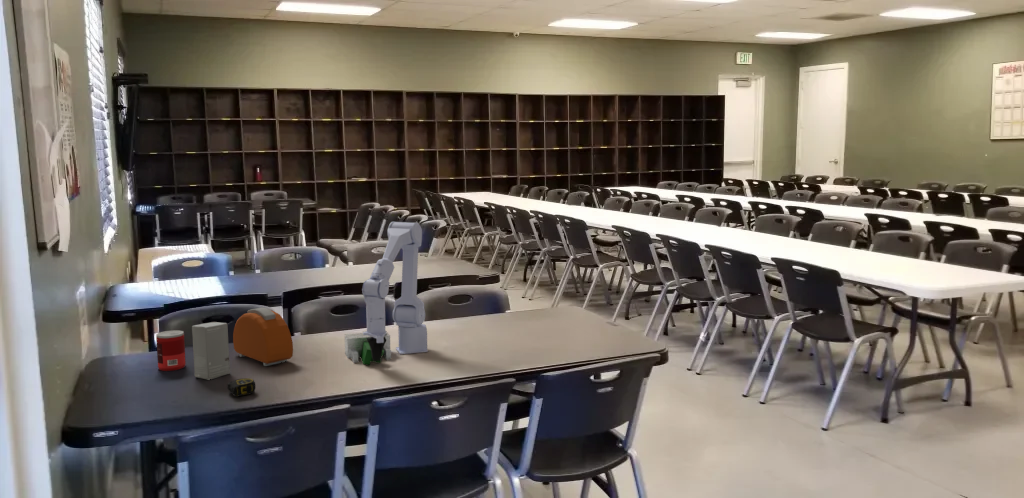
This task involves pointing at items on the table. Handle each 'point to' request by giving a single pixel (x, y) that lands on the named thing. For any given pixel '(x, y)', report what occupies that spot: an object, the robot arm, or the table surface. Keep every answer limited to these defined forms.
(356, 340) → the motor housing
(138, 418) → the table surface
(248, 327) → the orange toaster
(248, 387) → the tape measure
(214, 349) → the skincare box
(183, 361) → the canned food
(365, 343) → the clamp
